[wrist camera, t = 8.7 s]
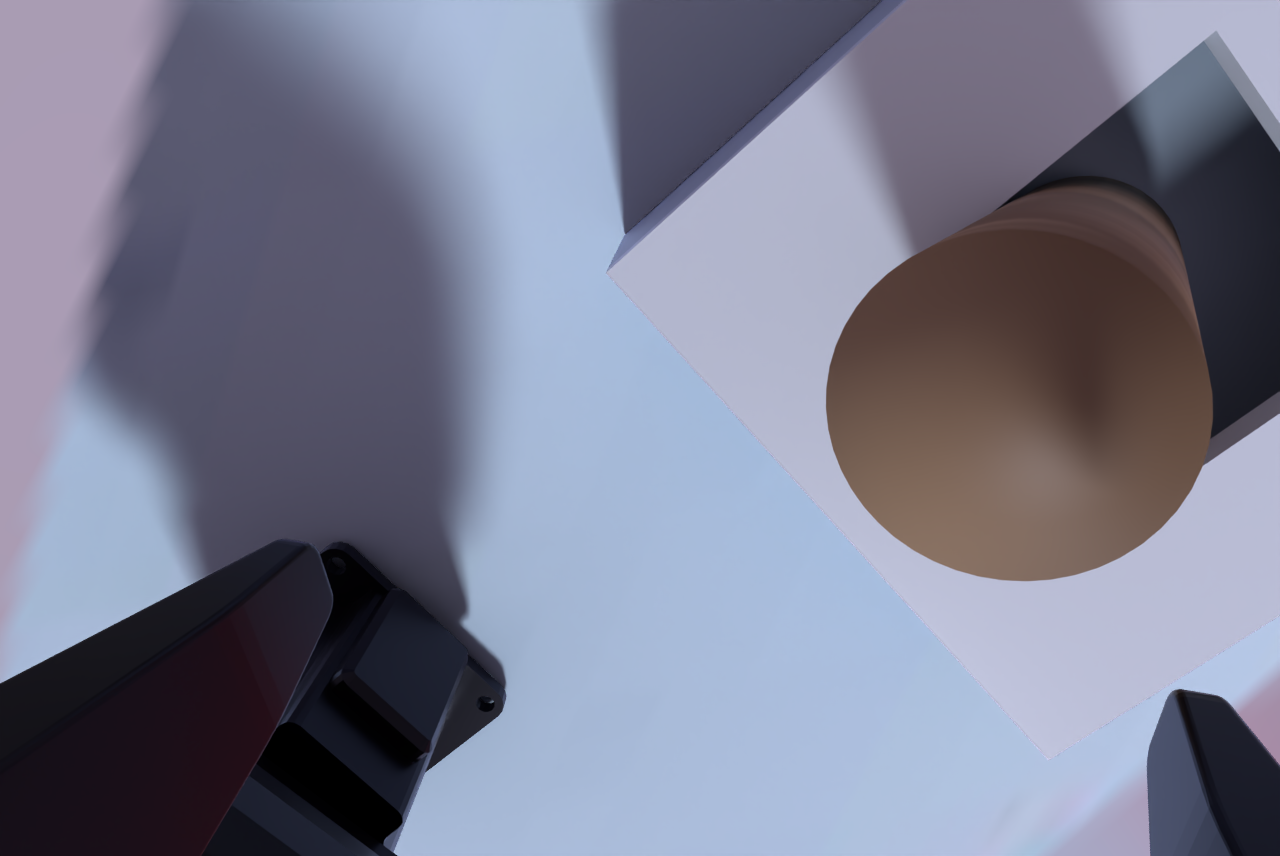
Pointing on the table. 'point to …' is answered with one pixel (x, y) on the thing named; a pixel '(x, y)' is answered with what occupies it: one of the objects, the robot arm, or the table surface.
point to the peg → (1028, 386)
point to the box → (953, 199)
